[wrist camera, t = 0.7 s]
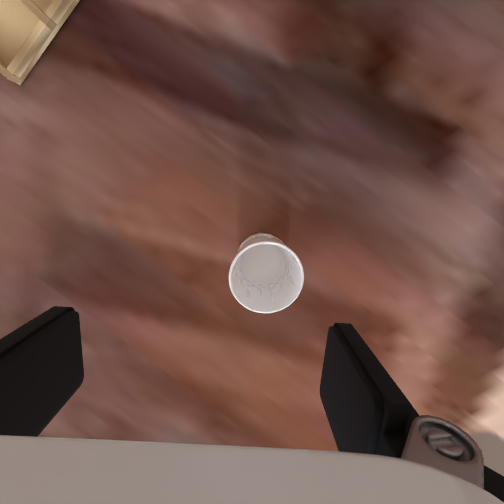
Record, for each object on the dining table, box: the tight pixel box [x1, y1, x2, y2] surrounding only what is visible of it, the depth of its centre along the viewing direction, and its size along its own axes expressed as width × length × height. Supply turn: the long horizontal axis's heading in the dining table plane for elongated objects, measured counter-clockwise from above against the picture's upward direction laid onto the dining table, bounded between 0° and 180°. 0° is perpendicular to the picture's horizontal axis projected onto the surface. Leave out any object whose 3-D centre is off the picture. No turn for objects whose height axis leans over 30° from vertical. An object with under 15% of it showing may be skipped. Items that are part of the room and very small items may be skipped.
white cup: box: [229, 233, 304, 313], centre depth 34 cm, size 8×8×10 cm
